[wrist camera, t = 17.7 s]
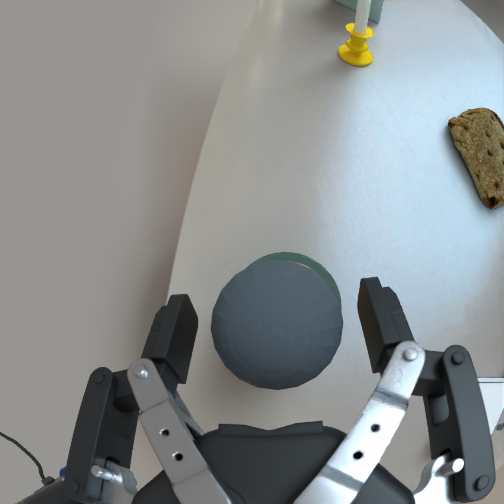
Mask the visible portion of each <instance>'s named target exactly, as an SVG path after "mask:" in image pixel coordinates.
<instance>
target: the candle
mask: <svg viewBox="0 0 504 504" xmlns="http://www.w3.org/2000/svg"><path fill="white" fill-rule="evenodd" d="M370 4H371V0H358V1H357V9H356V16H355V23H350V24H347V25H346V30H347V31H348V32H349V33H350V34H351V39H348V40H347V42H346V44H344V45H342V46H340V48H339V51H338V53H339V56H340V57H341V58H342V59H343V60H344V61H345V62H347V63H349V64H352V65H356V66H367V65H369V64H371V63H372V60H373V56H372V54H371V52H370V51H369V50H368V45H367V44H366V43H365V42H366V38H370V37H372V36H373V35H374V32H373V31H372V30H371V29H370V28H369V27H367V23H368V17H369V11H370Z"/></svg>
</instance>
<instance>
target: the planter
mask: <svg viewBox="0 0 504 504" xmlns="http://www.w3.org/2000/svg"><path fill="white" fill-rule="evenodd" d="M335 1H337V2H339V3H341V4H343V5H345V6H347V7H349V8H351V9H353V10H354V11H356V9H357V1H358V0H335ZM383 1H384V0H371V4H370V11H369V17H368V18H369V19H371V20H372V21H374V22H376V23H379V21H380V16H381V11H382V6H383Z"/></svg>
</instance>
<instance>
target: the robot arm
mask: <svg viewBox="0 0 504 504" xmlns="http://www.w3.org/2000/svg"><path fill="white" fill-rule="evenodd" d="M357 307H358V314H359V318H360V322H361V326H362V330H363V333H364V337H365V341H366V346H367V350H368V354H369V358H370V363H371V367H372V372H373V373H378V372H380V375H381V379H380V381H379V383H378V385H377V386H376V388H375V390H374V391H373V393H372V395H371V397H370V398H369V400H368V402H367V404H366V405H365V407H364V409H363V410H362V412H361V414H360V415H359V417H358V419H357V420H356V422H355V423H354V425H353V426H352V428H351V429H350V431H349V432H348V434H346V433H344V432H342V431H340V430H338V429H335V428H332V427H328V426H323V423H322V421H315V422H304V423H295V424H292V425H288V426H285V427H281V428H278V429H274V430H264V429H260V428H255V427H251V426H247V425H237V424H219V428H218V429H217V430H213V431H210V432H208V433H204V432H203V431H202V429H201V428H200V427H199V425H198V424H197V423H196V422H195V420H194V419H193V417H192V416H191V414H190V412H189V411H188V409H187V407H186V405H185V404H184V402H183V400H182V399H181V397H180V395H179V393H178V391H177V390H176V389H177V384H178V383H179V384H186V380H187V375H188V370H189V365H190V360H191V356H192V351H193V347H194V342H195V337H196V333H197V329H198V317H197V314H196V312H195V309H194V307H193V305H192V303H191V301H190V298H189V296H188V295H187V294H178V295H171V296H170V298H169V301H168V304H167V306H162V307H161V309H160V310H159V311H158V312H157V313H156V315H155V318H154V321H153V325H152V327H151V329H150V330H151V331H150V332H149V335H148V338H147V341H146V344H145V347H144V350H143V353H142V356H141V358H140V359H138V360H136V361H134V362H133V363H132V364H131V365H130V366H129V368H128V369H127V370H123V371H118V372H113V373H112V372H111V371H110V370H109V369H108V368H106V367H100V368H97V369H96V370H95V371H93V373H92V374H91V375H90V378H89V381H88V384H87V387H86V390H85V393H84V396H83V400H82V404H81V407H80V410H79V414H78V418H77V421H76V425H75V429H74V434H73V437H72V442H71V446H70V451H69V456H68V460H67V466H66V471H65V475H63V476H60V477H59V478H57V479H54V478H52V477H50V476H49V477H47V478H45V477H44V475H43V470H42V467H41V465H40V464H39V462H38V461H37V460H36V459H35V457H34V456H33V455H32V454H30V452H28V451H27V450H26V449H25V448H24V447H23V446H21V445H20V444H19V443H18V442H17V441H15V440H14V439H12V438H10V437H8V436H6V435H4V434H3V433H1V432H0V435H1V436H2V437H4V438H6V439H7V440H10V441H11V442H13V443H14V444H16V445H17V446H18V447H19V448H21V450H23V451H24V452H25V453H26V454H27V455H28V456H29V457H30V458H31V459H32V460H33V461H34V462H35V463H36V465H37V466H38V468H39V474H40V476H41V478H42V483H43V484H44V487H42V488H40V489H38V490H37V491H35V492H34V494H32V495H30V496H28V497H27V498H25V499H23V500H21V501H19V502H17V503H15V504H462V503H468V502H473V501H478V500H481V499H483V498H484V497H485V496H487V495H488V494H489V493H490V491H491V490H492V488H493V486H494V483H495V464H494V455H493V447H492V440H491V434H490V429H489V423H488V418H487V414H486V409H485V405H484V401H483V397H482V393H481V389H480V386H479V382H478V379H477V375H476V372H475V369H474V366H473V363H472V360H471V357H470V354H469V352H468V351H467V350H466V349H465V348H464V347H462V346H460V345H452V346H450V347H448V348H447V349H446V350H445V352H437V351H428V350H425V349H423V347H422V346H421V345H420V344H418V343H416V342H415V340H414V338H413V336H412V333H411V330H410V328H409V325H408V322H407V320H406V317H405V315H404V312H403V309H402V307H401V305H400V302H399V300H398V297H397V295H396V293H395V292H394V291H393V290H392V289H391V288H390V287H383V288H382V286H381V284H380V281H379V279H378V277H371V278H363V279H361V281H360V288H359V295H358V303H357ZM411 395H415V396H423V401H424V406H425V412H426V418H427V425H428V432H429V440H430V448H431V459H432V461H430V462H429V463H428V464H427V465H426V466H425V467H424V469H423V471H422V474H421V480H420V483H419V485H418V487H417V488H416V490H415V491H414V492H411V491H410V490H409V489H408V488H407V487H406V486H405V485H403V484H402V483H401V482H400V481H399V480H398V479H396V478H395V477H394V476H393V475H392V474H391V473H389V472H388V471H387V470H386V469H385V468H384V467H383V466H382V465H380V464H379V463H378V461H379V460H380V458H381V457H382V455H383V453H384V452H385V450H386V448H387V446H388V445H389V443H390V441H391V439H392V438H393V436H394V434H395V432H396V430H397V428H398V426H399V424H400V422H401V420H402V418H403V416H404V414H405V412H406V410H407V408H408V401H409V399H410V397H411ZM139 410H141V413H140V414H139ZM138 416H139V419H140V421H141V424H142V426H143V428H144V431H145V433H146V435H147V437H148V439H149V441H150V443H151V445H152V447H153V449H154V451H155V453H156V455H157V457H158V459H159V461H160V463H161V465H162V467H163V469H164V470H162V471H161V472H160V473H159V474H158V475H157V476H156V477H154V478H153V479H152V480H151V481H150V482H149V483H147V484H146V485H145V486H144V487H143V488H141V489H140V490H139V491H138V490H137V488H136V485H137V482H136V479H135V477H134V474H133V473H132V471H130V463H131V456H132V450H133V444H134V438H135V432H136V426H137V421H138Z"/></svg>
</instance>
